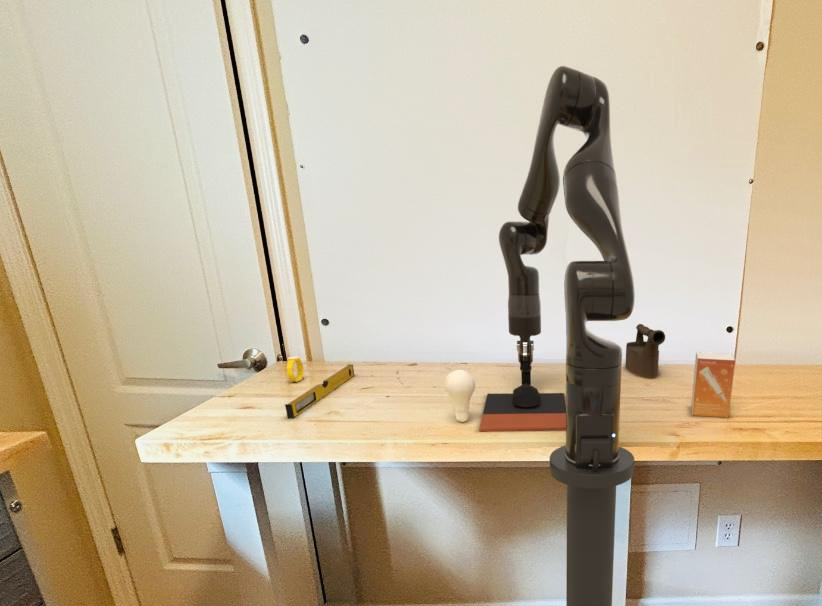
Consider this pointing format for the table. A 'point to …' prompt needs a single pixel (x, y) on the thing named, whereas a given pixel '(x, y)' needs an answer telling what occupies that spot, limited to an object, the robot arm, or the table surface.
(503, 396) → the desk mat
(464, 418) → the lightbulb
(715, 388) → the small box
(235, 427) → the table surface
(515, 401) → the gaming mouse
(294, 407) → the spirit level
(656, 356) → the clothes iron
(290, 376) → the yellow ring
